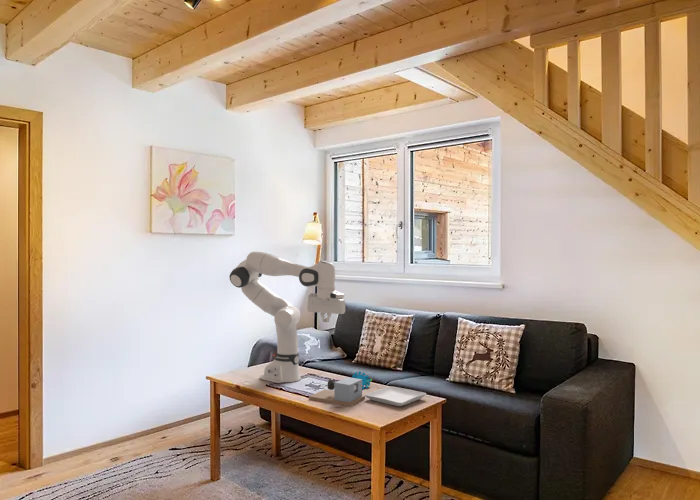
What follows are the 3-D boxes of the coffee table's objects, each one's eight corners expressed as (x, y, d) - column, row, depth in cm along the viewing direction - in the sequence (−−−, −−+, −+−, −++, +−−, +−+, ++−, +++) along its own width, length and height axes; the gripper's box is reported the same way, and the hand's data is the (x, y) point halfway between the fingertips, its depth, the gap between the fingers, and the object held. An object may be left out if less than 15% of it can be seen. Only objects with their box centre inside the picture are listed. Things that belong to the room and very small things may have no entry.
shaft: (327, 390, 246) (327, 380, 246) (332, 388, 250) (332, 377, 250) (352, 394, 239) (352, 383, 239) (357, 392, 244) (358, 381, 244)
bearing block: (309, 399, 245) (309, 379, 245) (324, 392, 258) (325, 373, 258) (350, 406, 235) (350, 385, 235) (364, 398, 247) (365, 379, 247)
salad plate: (363, 401, 245) (363, 393, 245) (390, 392, 261) (390, 385, 261) (401, 410, 231) (401, 402, 231) (427, 400, 247) (427, 392, 247)
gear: (354, 387, 262) (351, 370, 269) (350, 393, 265) (347, 376, 272) (374, 388, 266) (371, 371, 273) (370, 394, 269) (366, 377, 276)
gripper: (304, 293, 262) (304, 321, 262) (340, 295, 252) (340, 324, 252) (311, 292, 268) (311, 319, 268) (347, 294, 258) (346, 322, 258)
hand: (325, 322), depth 260 cm, fingers closed
